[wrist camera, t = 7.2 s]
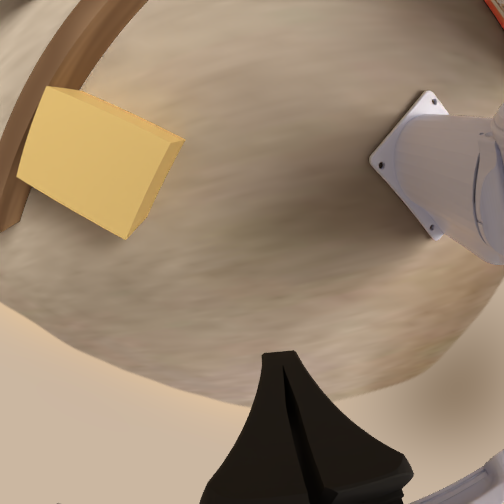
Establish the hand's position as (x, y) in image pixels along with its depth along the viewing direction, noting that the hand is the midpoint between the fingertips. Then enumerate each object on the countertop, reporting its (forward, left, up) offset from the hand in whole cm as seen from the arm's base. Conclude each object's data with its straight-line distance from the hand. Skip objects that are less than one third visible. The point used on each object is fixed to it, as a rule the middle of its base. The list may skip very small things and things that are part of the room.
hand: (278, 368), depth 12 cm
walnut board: (+19, -2, -10) cm, 22 cm away
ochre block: (+13, 0, -11) cm, 17 cm away
